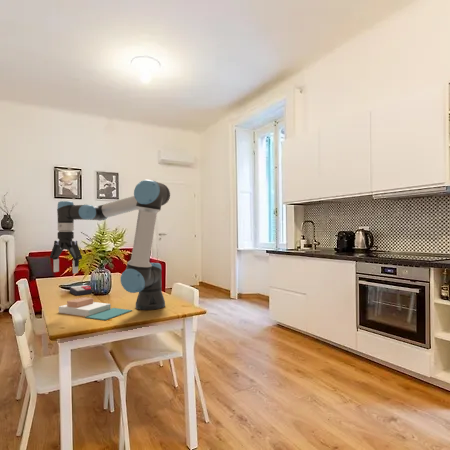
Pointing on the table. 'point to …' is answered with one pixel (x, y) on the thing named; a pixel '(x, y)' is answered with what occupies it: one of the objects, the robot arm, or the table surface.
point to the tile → (80, 302)
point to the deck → (85, 309)
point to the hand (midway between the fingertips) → (65, 272)
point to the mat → (108, 314)
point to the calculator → (80, 290)
